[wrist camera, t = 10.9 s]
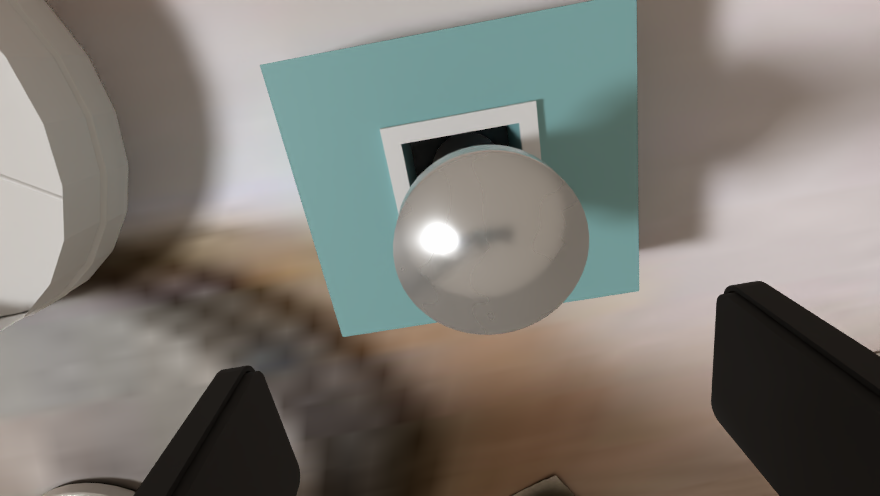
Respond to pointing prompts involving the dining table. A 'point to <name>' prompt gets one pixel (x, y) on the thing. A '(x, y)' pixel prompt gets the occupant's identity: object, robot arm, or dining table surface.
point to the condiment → (547, 489)
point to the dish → (53, 163)
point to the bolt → (489, 238)
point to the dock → (453, 112)
